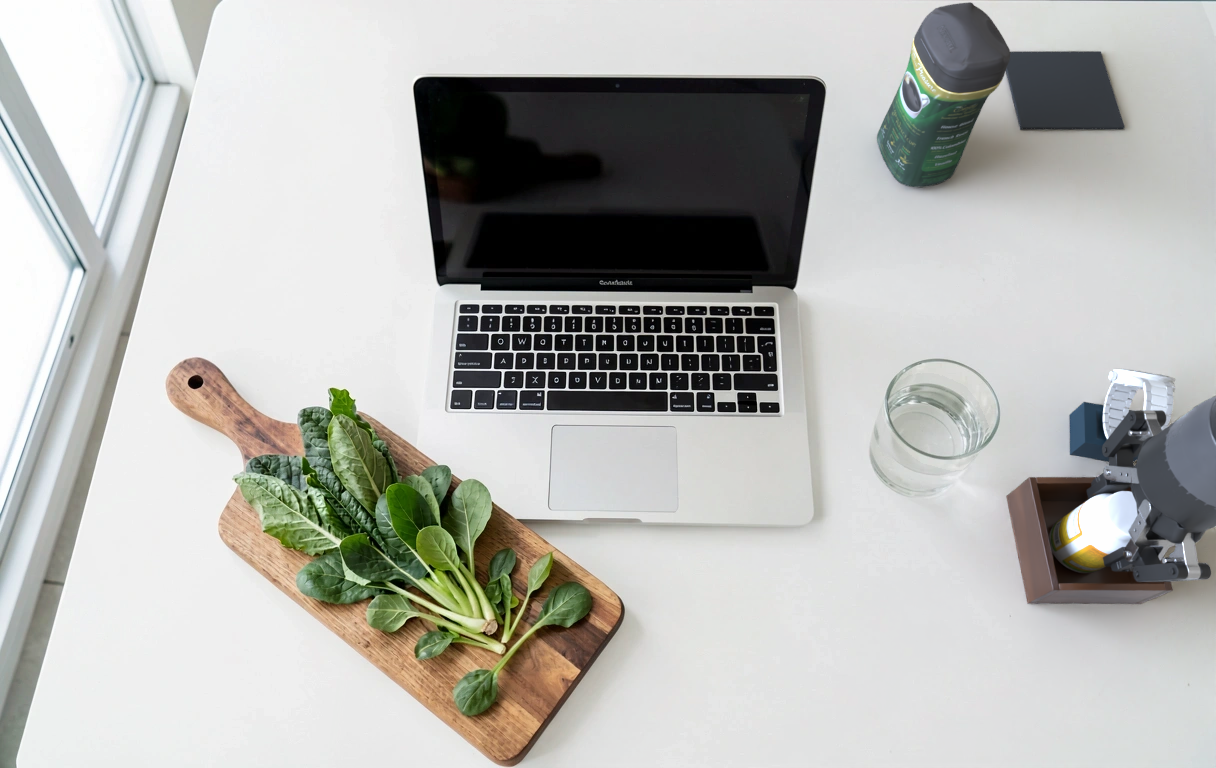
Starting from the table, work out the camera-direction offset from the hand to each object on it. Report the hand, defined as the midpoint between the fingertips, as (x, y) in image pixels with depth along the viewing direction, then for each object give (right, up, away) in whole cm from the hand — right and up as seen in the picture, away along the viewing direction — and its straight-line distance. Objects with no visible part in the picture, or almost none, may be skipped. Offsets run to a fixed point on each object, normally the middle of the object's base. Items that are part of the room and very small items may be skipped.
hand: (1106, 527), depth 78 cm
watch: (+5, +7, +11) cm, 14 cm away
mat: (+11, +47, +30) cm, 57 cm away
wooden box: (0, -3, +6) cm, 6 cm away
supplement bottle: (0, -3, +5) cm, 6 cm away
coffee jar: (-8, +38, +26) cm, 47 cm away
